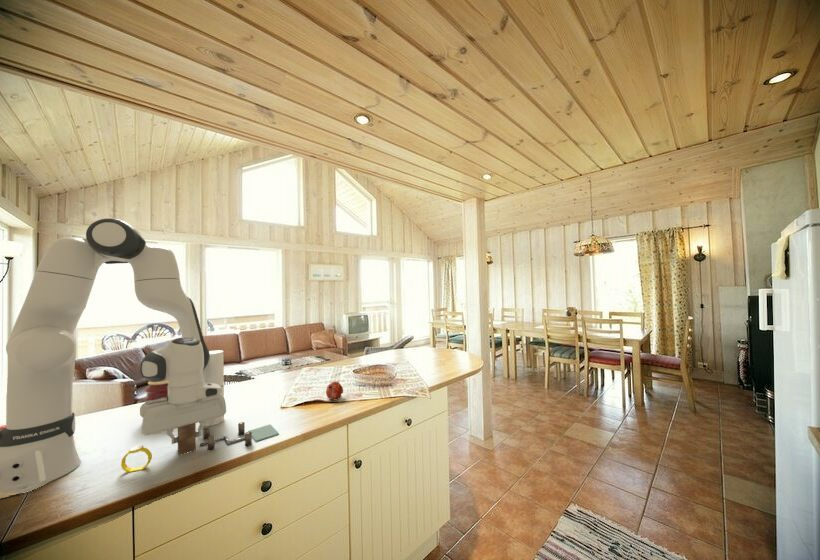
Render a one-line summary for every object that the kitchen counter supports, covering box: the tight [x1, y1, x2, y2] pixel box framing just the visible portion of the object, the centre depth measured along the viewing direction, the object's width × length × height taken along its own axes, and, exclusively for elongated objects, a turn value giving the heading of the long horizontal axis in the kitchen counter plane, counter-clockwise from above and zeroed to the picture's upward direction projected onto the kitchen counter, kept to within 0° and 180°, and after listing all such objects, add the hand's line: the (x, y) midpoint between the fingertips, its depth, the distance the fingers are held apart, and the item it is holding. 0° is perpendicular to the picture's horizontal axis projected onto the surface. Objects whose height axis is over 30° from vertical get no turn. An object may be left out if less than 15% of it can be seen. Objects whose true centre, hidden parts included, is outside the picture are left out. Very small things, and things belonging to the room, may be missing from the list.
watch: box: [120, 444, 153, 473], centre depth 80 cm, size 6×3×6 cm, turn 113°
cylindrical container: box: [203, 349, 225, 427], centre depth 110 cm, size 7×7×25 cm
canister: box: [144, 380, 168, 405], centre depth 114 cm, size 13×13×18 cm
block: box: [177, 423, 197, 456], centre depth 90 cm, size 4×4×8 cm
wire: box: [199, 435, 245, 447], centre depth 95 cm, size 13×6×1 cm, turn 131°
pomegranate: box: [325, 381, 344, 400], centre depth 130 cm, size 7×7×10 cm
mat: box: [247, 424, 280, 443], centre depth 99 cm, size 7×9×1 cm
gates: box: [202, 421, 253, 451], centre depth 95 cm, size 11×16×4 cm
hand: (186, 439), depth 90 cm, fingers open, 4 cm apart
